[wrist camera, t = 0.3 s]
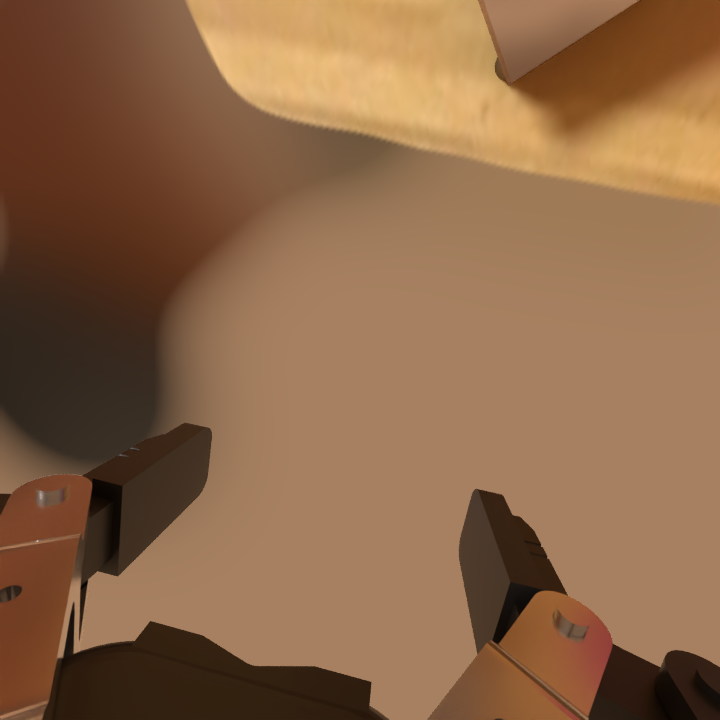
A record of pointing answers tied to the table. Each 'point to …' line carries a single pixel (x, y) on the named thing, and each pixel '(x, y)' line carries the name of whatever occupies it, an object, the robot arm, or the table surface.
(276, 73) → the table surface
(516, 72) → the brown legged piece
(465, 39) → the table surface
